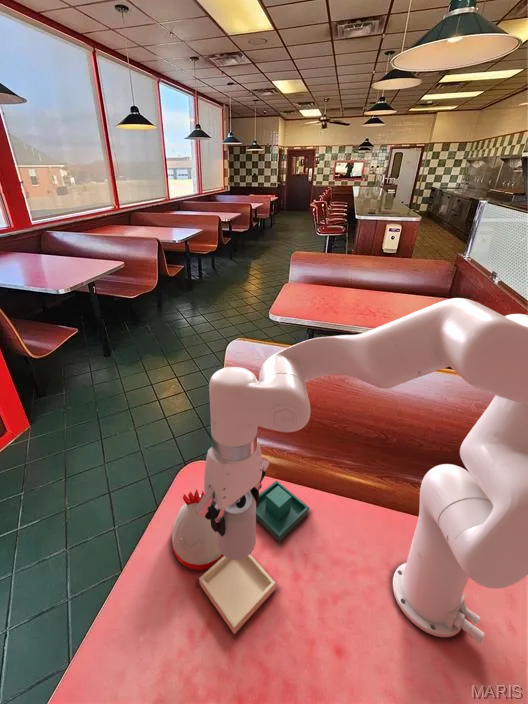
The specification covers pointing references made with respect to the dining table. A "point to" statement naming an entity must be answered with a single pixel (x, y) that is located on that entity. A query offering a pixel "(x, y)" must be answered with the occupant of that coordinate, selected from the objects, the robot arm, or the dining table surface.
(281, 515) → the block
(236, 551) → the can
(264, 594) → the cream tray
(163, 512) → the dining table surface
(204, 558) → the kitchen timer
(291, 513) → the green tray
